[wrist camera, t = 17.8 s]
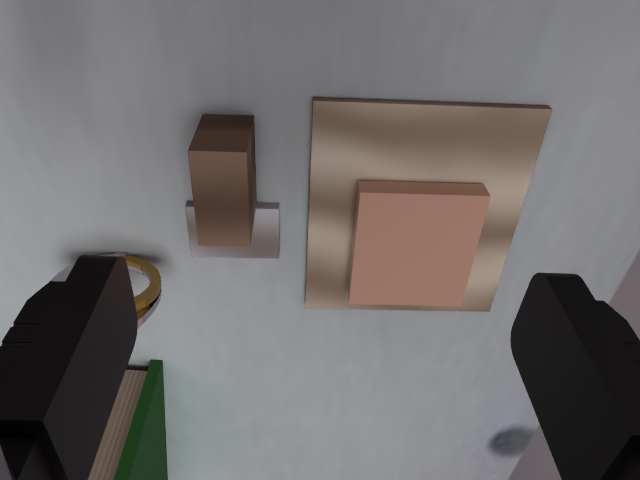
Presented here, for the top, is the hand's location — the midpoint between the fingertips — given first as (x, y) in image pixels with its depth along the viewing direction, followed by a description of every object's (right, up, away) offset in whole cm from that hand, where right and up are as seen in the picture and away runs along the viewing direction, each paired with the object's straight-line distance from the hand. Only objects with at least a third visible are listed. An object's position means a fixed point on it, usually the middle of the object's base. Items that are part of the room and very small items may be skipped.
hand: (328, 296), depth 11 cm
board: (+6, +3, +25) cm, 26 cm away
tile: (+6, +4, +22) cm, 23 cm away
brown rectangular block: (-6, +5, +24) cm, 25 cm away
